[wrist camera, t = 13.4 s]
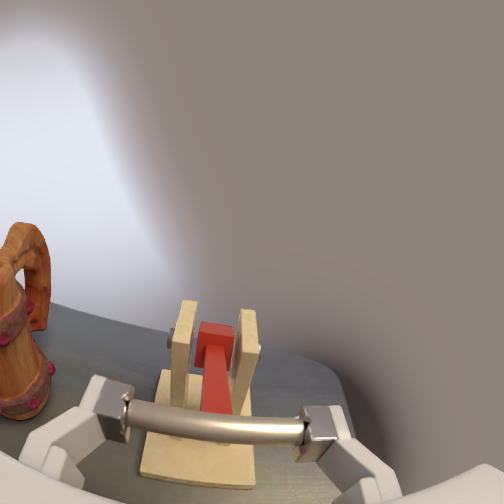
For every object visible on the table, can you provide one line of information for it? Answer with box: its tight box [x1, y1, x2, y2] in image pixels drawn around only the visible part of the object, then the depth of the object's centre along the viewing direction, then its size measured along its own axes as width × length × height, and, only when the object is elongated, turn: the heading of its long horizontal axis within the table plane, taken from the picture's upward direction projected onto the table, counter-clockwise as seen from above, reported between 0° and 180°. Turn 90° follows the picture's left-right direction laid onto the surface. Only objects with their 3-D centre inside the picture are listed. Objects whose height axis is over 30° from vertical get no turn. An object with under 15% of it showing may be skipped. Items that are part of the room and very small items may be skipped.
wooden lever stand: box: [140, 300, 261, 489], centre depth 20 cm, size 12×9×13 cm
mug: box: [0, 222, 55, 420], centre depth 18 cm, size 15×8×15 cm, turn 5°
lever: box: [126, 322, 305, 446], centre depth 14 cm, size 12×6×2 cm, turn 3°
